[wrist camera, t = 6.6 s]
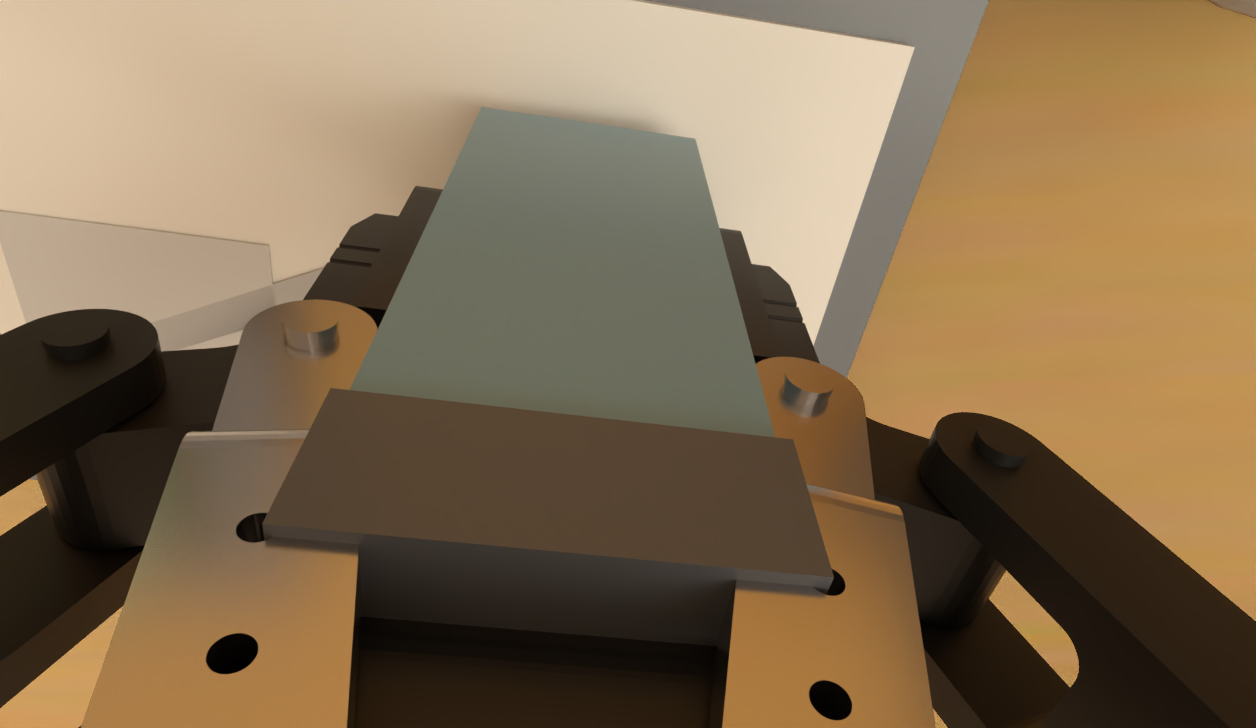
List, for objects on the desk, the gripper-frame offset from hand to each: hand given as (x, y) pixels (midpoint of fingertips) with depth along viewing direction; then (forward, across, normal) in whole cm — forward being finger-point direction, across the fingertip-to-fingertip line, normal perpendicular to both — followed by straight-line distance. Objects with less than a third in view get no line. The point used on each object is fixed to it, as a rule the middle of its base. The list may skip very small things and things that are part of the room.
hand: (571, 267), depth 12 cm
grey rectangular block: (+2, 0, 0) cm, 2 cm away
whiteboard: (+4, +3, +2) cm, 5 cm away
